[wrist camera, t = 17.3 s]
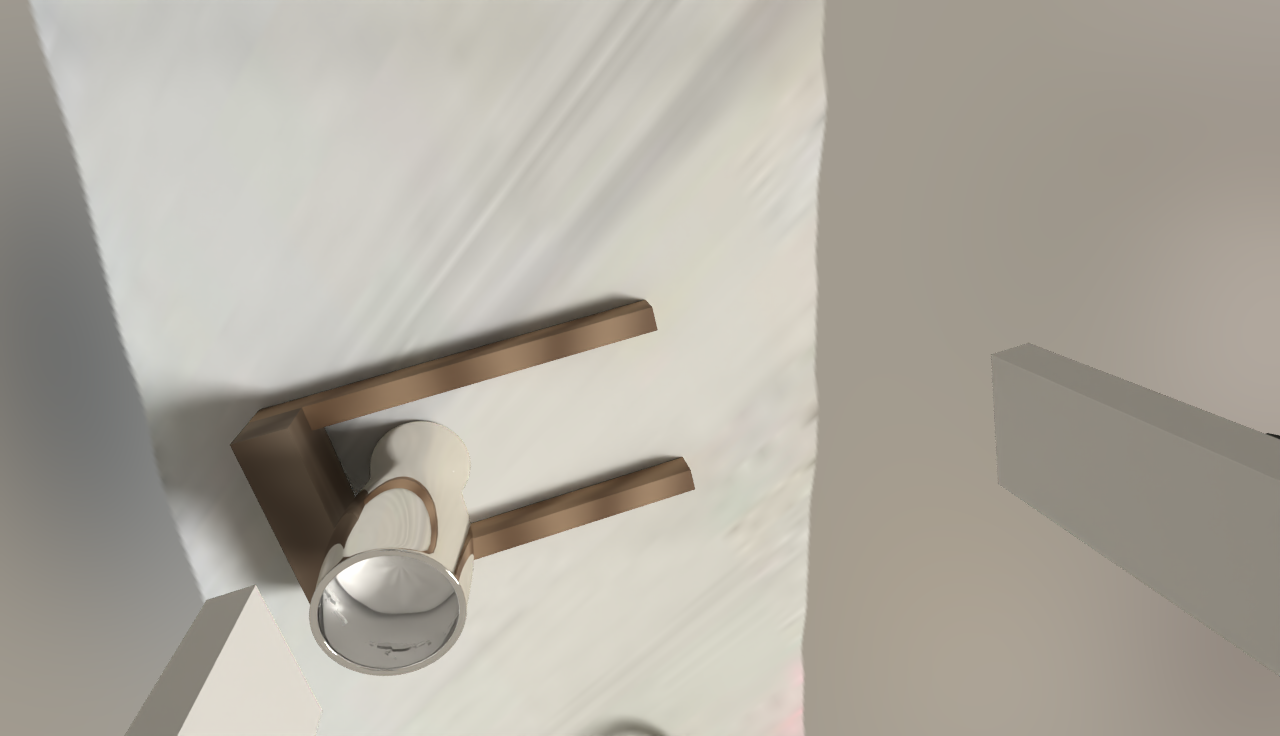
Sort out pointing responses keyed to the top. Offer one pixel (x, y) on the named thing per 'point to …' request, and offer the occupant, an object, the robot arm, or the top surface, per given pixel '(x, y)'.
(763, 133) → the top surface
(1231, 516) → the robot arm
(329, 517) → the brown u-shaped block
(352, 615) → the metal tumbler
